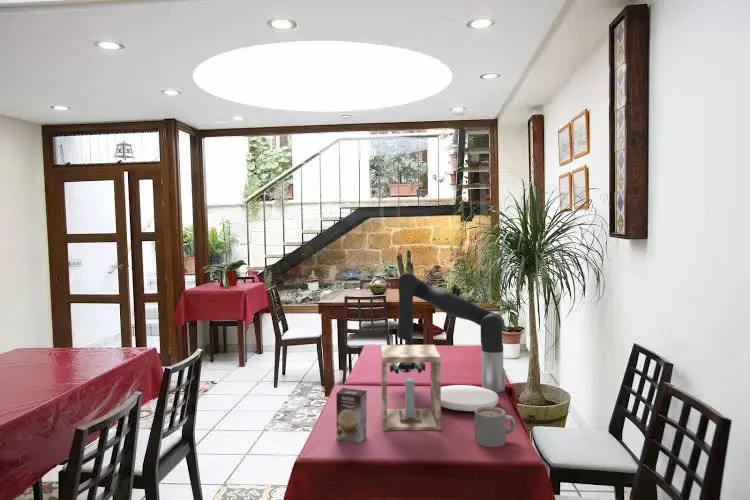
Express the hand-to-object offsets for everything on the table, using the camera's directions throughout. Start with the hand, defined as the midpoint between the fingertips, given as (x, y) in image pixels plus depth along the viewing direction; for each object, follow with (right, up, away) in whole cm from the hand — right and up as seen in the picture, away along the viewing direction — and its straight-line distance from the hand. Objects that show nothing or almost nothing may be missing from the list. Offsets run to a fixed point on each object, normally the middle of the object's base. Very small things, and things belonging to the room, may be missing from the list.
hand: (408, 371), depth 206 cm
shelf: (0, -16, -10) cm, 19 cm away
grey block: (0, -15, -10) cm, 18 cm away
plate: (+23, -15, +7) cm, 29 cm away
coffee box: (-21, -17, -26) cm, 38 cm away
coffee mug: (+27, -17, -30) cm, 44 cm away
